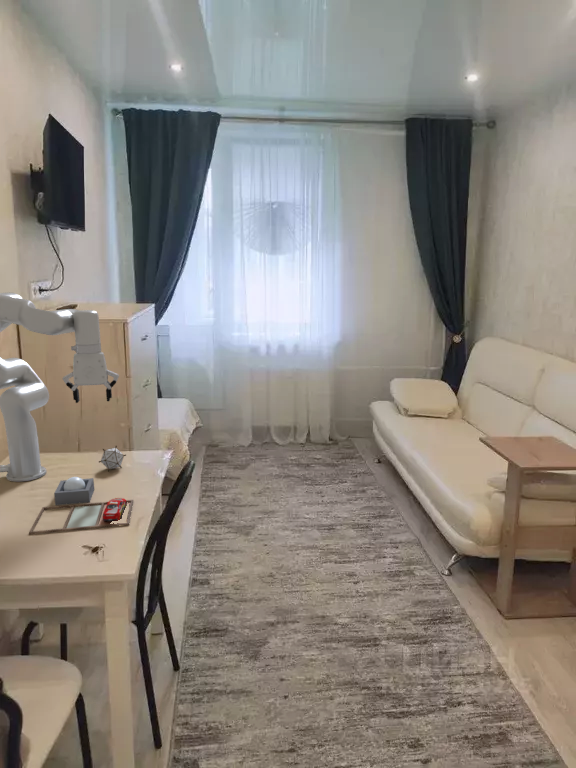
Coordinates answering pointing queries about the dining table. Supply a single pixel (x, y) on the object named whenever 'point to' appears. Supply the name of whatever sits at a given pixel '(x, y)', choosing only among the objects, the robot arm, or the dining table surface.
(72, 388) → the robot arm
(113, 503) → the race car
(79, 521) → the brown divided frame
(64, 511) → the dining table surface
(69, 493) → the base
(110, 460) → the game die
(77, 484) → the dome
